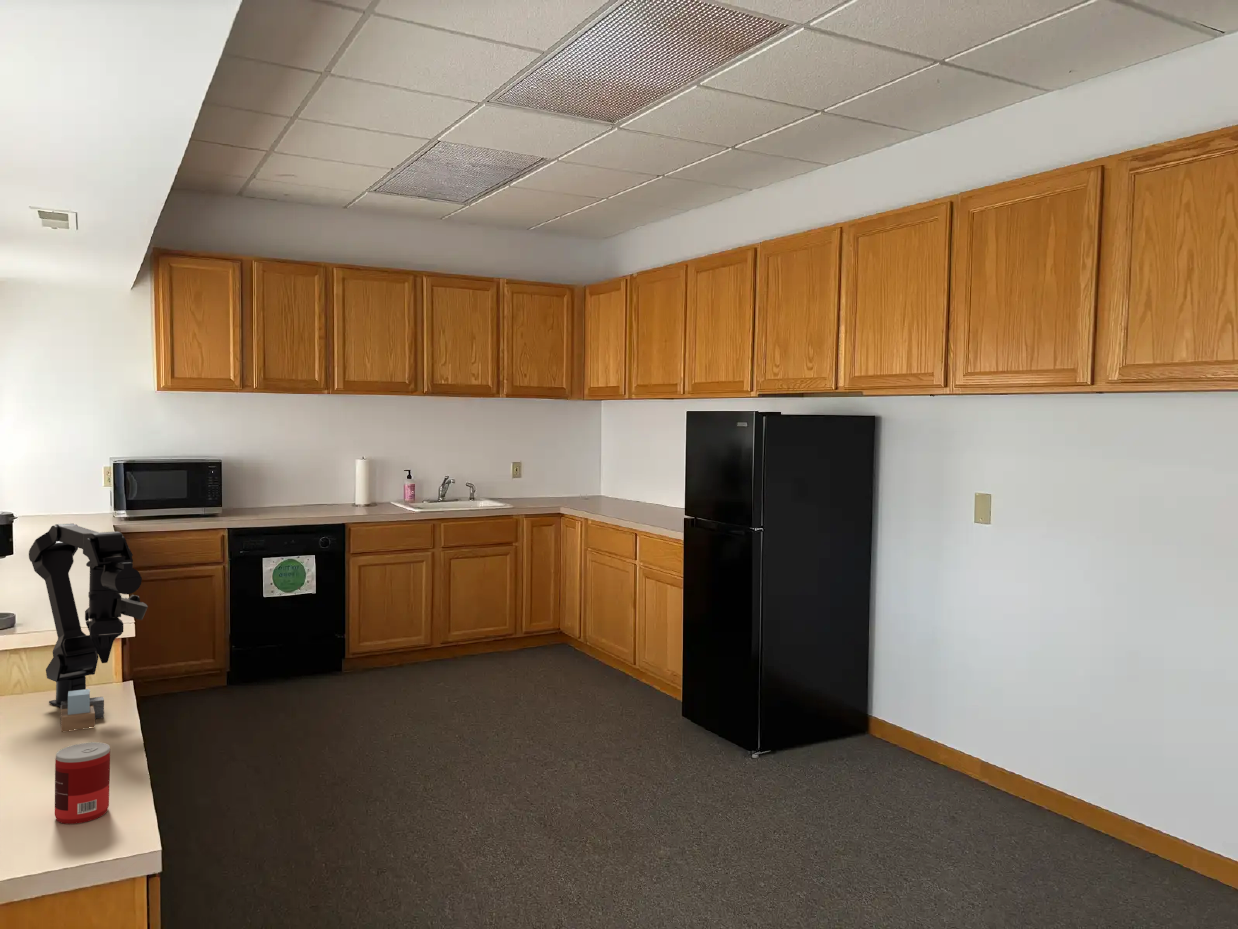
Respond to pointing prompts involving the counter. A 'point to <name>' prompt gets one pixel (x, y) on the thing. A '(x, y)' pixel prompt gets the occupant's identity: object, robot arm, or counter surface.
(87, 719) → the brown square block
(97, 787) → the canned food
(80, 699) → the block
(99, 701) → the block
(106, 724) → the counter surface
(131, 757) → the counter surface
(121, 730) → the counter surface
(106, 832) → the counter surface
